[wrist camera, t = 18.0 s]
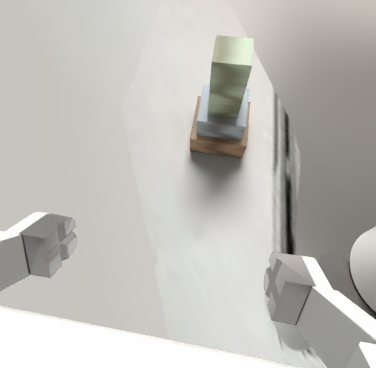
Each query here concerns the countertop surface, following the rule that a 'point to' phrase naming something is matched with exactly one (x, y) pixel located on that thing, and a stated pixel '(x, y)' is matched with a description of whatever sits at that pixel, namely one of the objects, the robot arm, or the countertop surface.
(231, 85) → the green brick
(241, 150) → the pedestal
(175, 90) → the countertop surface
